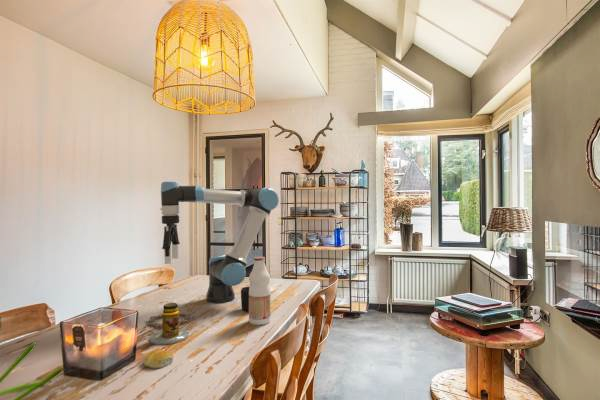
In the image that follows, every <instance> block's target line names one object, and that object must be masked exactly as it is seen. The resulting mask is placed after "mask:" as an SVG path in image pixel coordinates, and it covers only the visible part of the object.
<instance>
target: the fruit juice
mask: <svg viewBox="0 0 600 400" xmlns="http://www.w3.org/2000/svg"><path fill="white" fill-rule="evenodd" d="M253 262H254V263H253V267H252V270H251V272H250V274H249V277H248V281H249V286H248V287H249V312H248V322H249V324H250V325H253V326H263V325H268V324H270V322H271V317H272V316H271V315H272V314H271V313H272V312H271V286H270V281H271V275H270V272H268V269H267V266H266V263H265V262H266V257H265V256H255V257H253Z"/></svg>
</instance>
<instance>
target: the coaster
mask: <svg viewBox="0 0 600 400" xmlns="http://www.w3.org/2000/svg"><path fill="white" fill-rule="evenodd" d="M179 332H184V333H182V334H181V335H180V336H178V337H177V338H175V339H173V340H171V339H161V338H154V337H156V336H157V335H159V334H161V333H162V330H160V331H159V330H158V331H157V332H155V333H153V334H151V335H150V337H149V343H151V344H153V345H159V346H165V345H174V344H177V343H180V342H182V341H183V342H184V341H185V340H186V339H188V337H189V331H187V330H186V329H182V328H179Z"/></svg>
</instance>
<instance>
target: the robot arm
mask: <svg viewBox="0 0 600 400" xmlns="http://www.w3.org/2000/svg"><path fill="white" fill-rule="evenodd" d="M160 196H161V197H160V199H161V201H160V203H161V207H160V208H159V209H160V211H161V224H162V225H164V227H163V230H164V231H163V240H162V247H161V249H162V250H164V251H163V252H164V254H163V255H164V264H165V265H167V264H170V265H171V264H172V259H175V260H176V259H179V245H180V243H181V242H180V241H179V240H180V239H179V233H178V225H177V224H179V223H180V216H179V214H180V204H179V203H199V204H200V203H202V204H219V205H233V206H234V205H237V206H238V207H240V208H241V207H242V208H247V209H248V208H249V212H248V214H247V217H246V219H245V221H244V223H243V225H242V227H241V230H240V232H239V234H238V236H237V238H236V240H235V242H234V245H233V246H232V249H231V251H230V252H229V253H226V254H225V255H224V256H223V255H222V256H212V257H210V258H209V261H208V265H209V266H208V267H209V268H208V269H209V271H208V273H209V274H208V278H209V279H208V282H209V283H208V284H209V286H208V289H207V291H206V295H205V301H206V302H207V303H211V304H212V303H213V304H221V303H223V304H224V303H228V302H231V301H234V300H235V298H236V297H235V296H236V294H235V291H234V287H235V286H238V285H240V284H241V283H242V282H243V281H244V280H245V278H246V274H247V271H246V267H247V265H248V261H247V257H248V255H249V253H250V252H251V249H252V247H253V244H254V242H255V240H256V238H257V235H258V233H259V231H260V229H261V227H262V225H263V223H264V220H265V218H267V217H269V216H270V213H271V211H272V210H274V209H276V208H277V207H278V205H279V196H278V193H277V191H275V190H274V188H270V187H263V188H262V187H260V188H253V189H252V188H251V189H240V190H239V191H238V190H224V189H215V188H213V189H212V188H204V186H202V185H179V183H178V181H172V180H171V181H163V182H161V185H160ZM165 225H166V226H165Z"/></svg>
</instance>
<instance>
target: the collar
mask: <svg viewBox="0 0 600 400" xmlns="http://www.w3.org/2000/svg"><path fill="white" fill-rule="evenodd" d="M181 316H182V318H184V319H182V320H179V327H180V326H183V325H186V324H187V323H191V318H192V313H191V312H189V313H187V312H180V311H179V317H181ZM160 319H161V320H162V313H161V314H159V315H151V316H150V317H149V318H148V319H147V321H148V322H147V323H148V326H149V327H153V328H156V329H162V323H159V322H156V321H158V320H160Z"/></svg>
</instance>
